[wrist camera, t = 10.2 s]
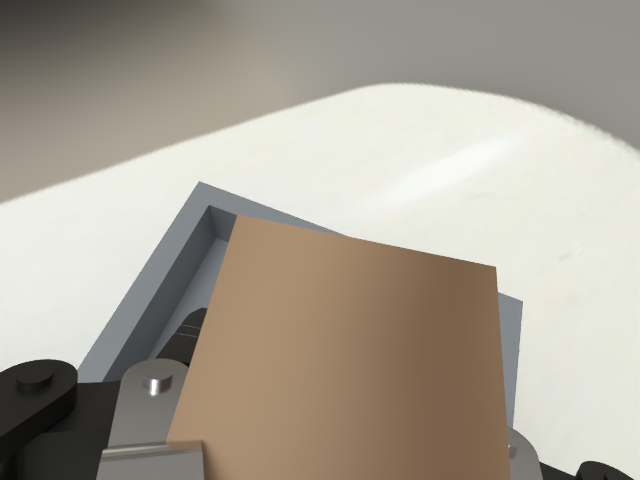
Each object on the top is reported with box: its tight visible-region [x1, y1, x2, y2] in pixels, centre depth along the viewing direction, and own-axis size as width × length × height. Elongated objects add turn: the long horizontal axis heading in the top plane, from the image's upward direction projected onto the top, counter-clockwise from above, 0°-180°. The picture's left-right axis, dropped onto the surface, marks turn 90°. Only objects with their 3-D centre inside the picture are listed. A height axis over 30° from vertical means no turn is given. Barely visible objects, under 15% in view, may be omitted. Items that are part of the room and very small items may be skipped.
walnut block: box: [165, 214, 511, 480], centre depth 10 cm, size 5×5×10 cm
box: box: [77, 181, 523, 428], centre depth 16 cm, size 16×16×4 cm
